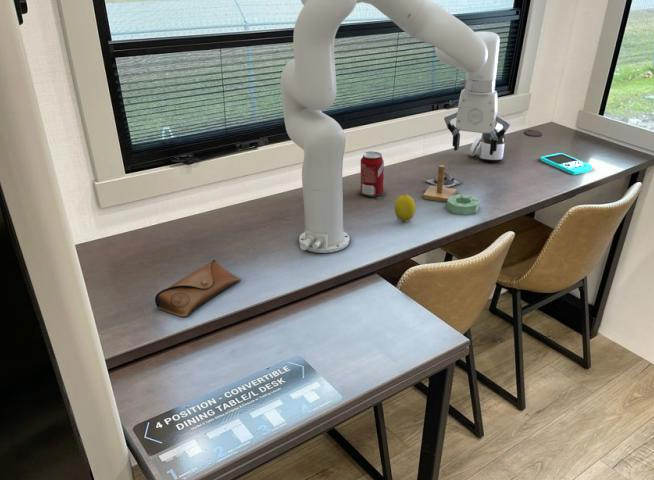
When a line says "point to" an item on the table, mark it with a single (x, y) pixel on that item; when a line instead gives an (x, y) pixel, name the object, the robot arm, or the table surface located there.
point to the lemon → (405, 207)
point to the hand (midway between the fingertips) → (474, 151)
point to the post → (439, 188)
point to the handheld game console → (567, 163)
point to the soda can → (372, 174)
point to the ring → (462, 204)
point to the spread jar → (485, 147)
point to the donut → (447, 181)
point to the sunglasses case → (195, 289)
